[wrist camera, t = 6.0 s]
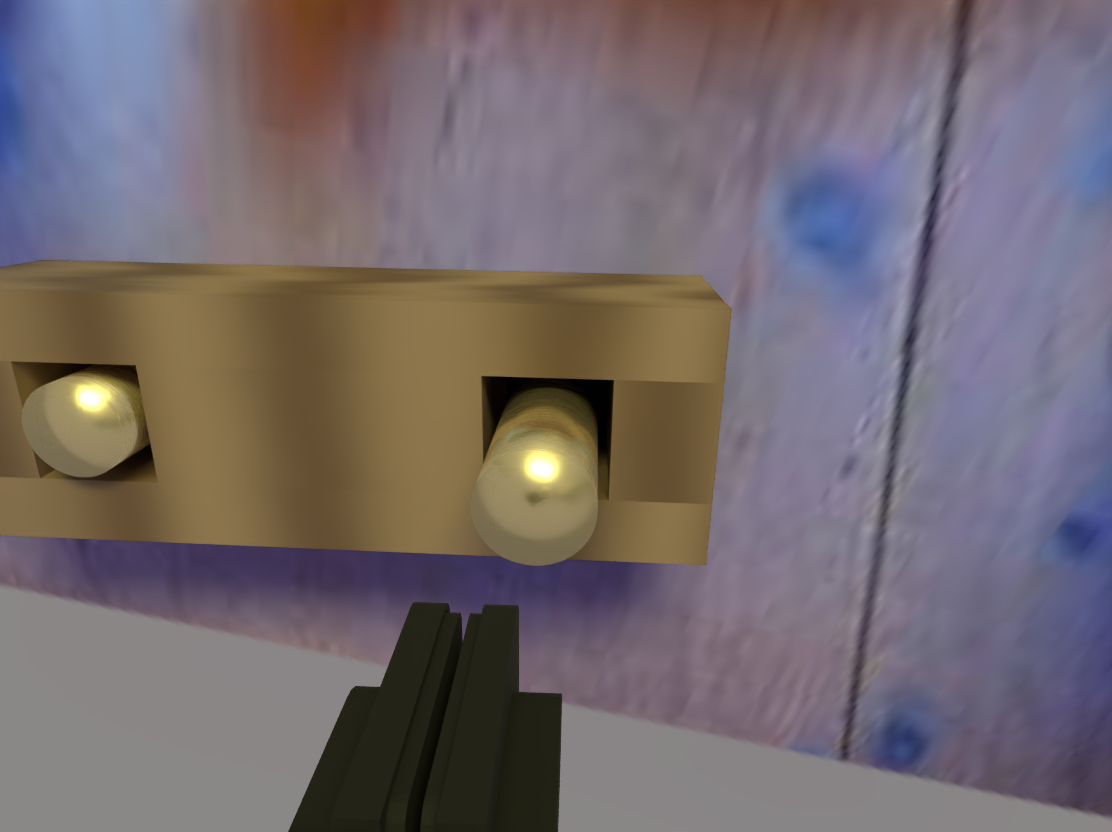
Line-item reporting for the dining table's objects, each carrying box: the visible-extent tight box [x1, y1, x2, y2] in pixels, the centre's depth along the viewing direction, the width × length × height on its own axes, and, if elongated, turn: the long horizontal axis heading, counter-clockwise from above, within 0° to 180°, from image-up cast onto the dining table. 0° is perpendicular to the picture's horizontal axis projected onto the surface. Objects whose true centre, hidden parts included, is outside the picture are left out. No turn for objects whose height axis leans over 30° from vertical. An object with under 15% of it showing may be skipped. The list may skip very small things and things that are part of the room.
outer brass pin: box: [22, 364, 151, 477], centre depth 24 cm, size 3×3×6 cm
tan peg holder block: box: [0, 260, 731, 565], centre depth 24 cm, size 24×8×6 cm, turn 89°
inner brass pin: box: [471, 378, 598, 566], centre depth 20 cm, size 3×3×6 cm
